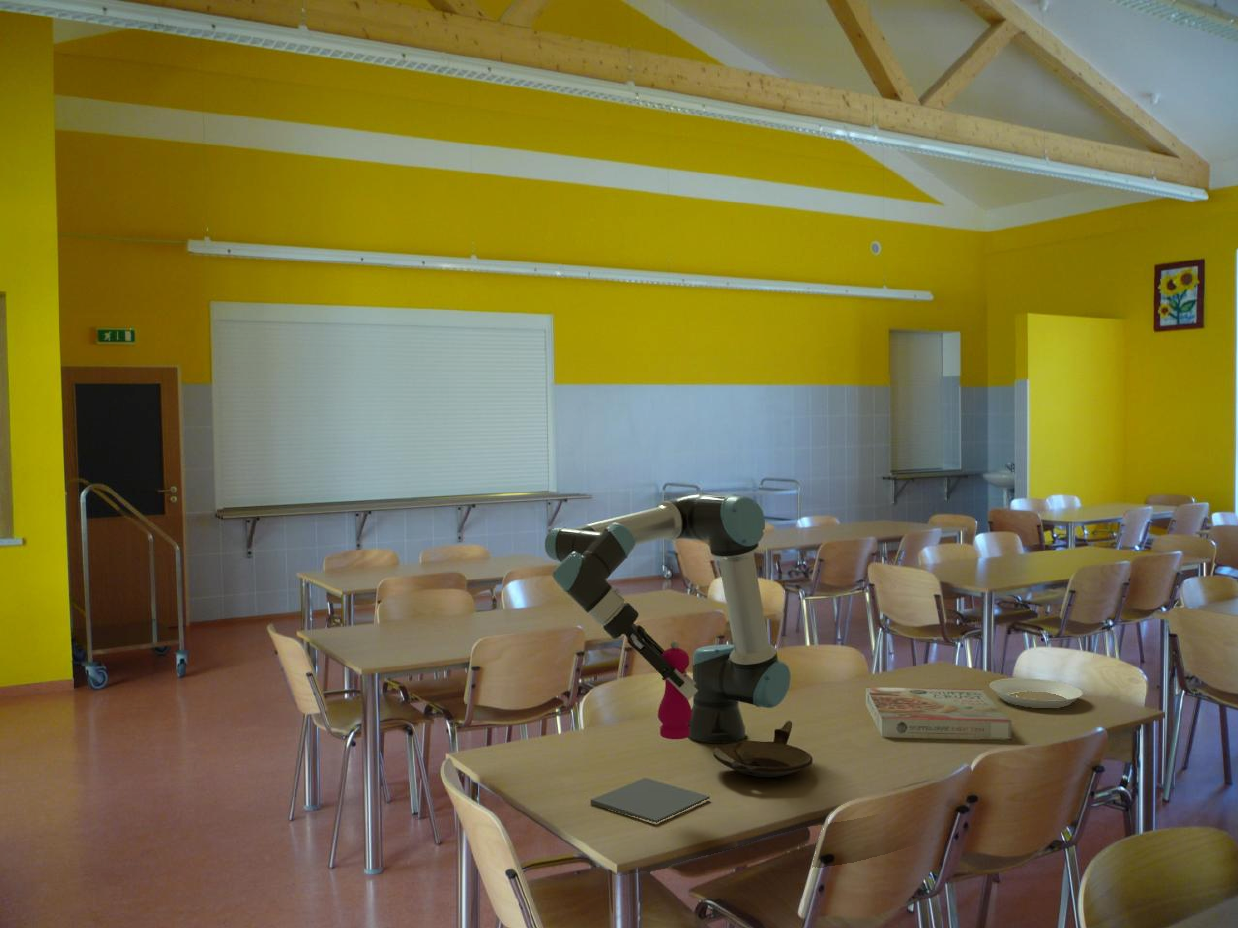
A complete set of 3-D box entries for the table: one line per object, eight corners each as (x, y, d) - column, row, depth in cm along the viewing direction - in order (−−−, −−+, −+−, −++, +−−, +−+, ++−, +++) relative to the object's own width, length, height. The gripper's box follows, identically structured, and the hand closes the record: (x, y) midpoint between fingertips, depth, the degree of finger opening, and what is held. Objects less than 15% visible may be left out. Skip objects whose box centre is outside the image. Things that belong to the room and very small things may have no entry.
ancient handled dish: (690, 773, 244) (690, 740, 244) (776, 746, 264) (776, 716, 264) (764, 799, 227) (764, 764, 227) (849, 768, 247) (850, 735, 247)
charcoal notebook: (590, 804, 225) (590, 799, 225) (645, 782, 238) (645, 777, 238) (656, 825, 213) (656, 820, 213) (709, 800, 226) (709, 796, 226)
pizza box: (882, 718, 271) (865, 686, 303) (882, 738, 271) (865, 705, 303) (1011, 721, 268) (981, 689, 300) (1011, 742, 268) (980, 707, 300)
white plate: (971, 693, 314) (971, 681, 313) (1042, 687, 321) (1042, 675, 321) (1027, 716, 290) (1028, 703, 290) (1102, 708, 297) (1102, 695, 297)
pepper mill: (664, 741, 219) (664, 645, 218) (653, 731, 226) (653, 638, 225) (697, 738, 221) (697, 643, 220) (685, 728, 228) (685, 636, 227)
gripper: (626, 609, 213) (708, 689, 213) (626, 594, 231) (702, 668, 232) (600, 635, 213) (681, 716, 214) (602, 618, 231) (677, 692, 232)
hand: (692, 691), depth 223 cm, fingers closed on pepper mill, 5 cm apart
